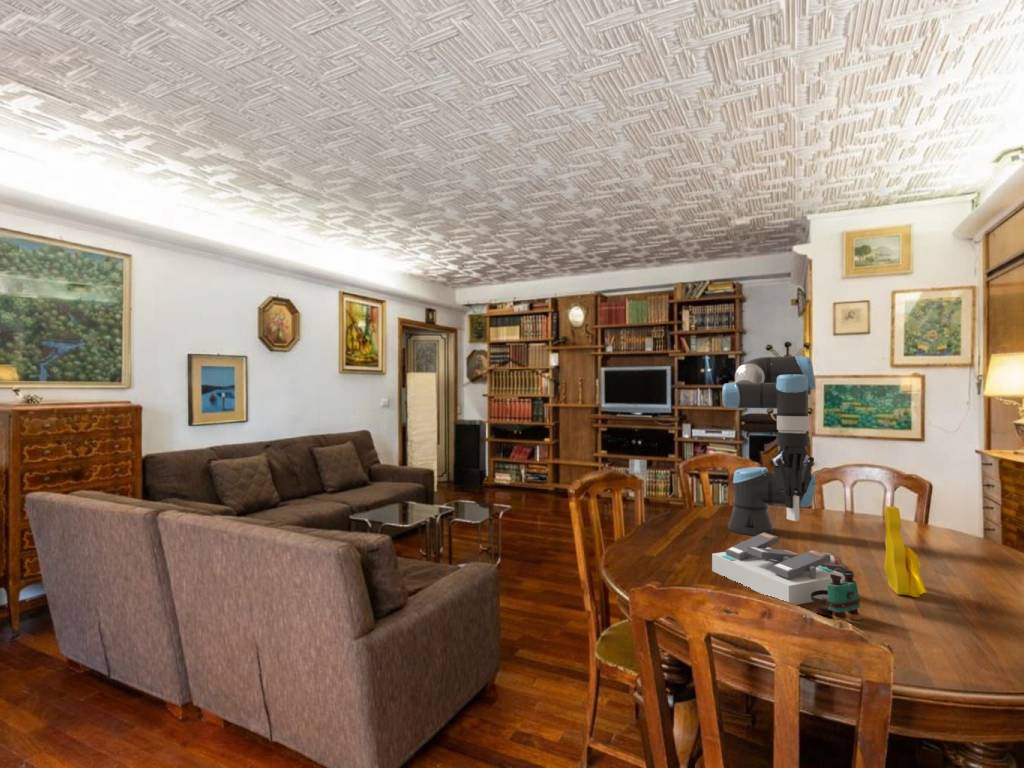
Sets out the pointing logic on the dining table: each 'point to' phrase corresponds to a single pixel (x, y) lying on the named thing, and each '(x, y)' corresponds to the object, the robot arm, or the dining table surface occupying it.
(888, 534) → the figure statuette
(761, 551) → the switch
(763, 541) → the switch
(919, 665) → the dining table surface
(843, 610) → the binoculars
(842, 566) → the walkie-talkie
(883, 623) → the dining table surface
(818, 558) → the switch
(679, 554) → the dining table surface
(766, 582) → the console
